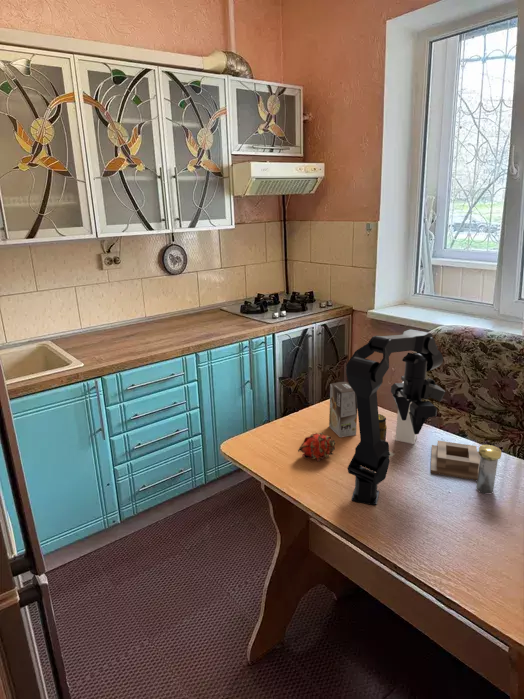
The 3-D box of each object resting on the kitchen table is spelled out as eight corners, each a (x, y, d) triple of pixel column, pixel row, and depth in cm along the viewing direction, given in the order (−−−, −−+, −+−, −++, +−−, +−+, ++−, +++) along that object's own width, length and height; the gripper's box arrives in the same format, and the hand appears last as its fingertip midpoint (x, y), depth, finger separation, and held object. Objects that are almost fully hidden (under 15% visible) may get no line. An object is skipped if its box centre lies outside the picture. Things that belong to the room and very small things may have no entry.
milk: (395, 440, 160) (399, 377, 154) (398, 433, 166) (403, 371, 159) (414, 444, 158) (419, 379, 151) (417, 436, 163) (422, 373, 157)
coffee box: (357, 435, 164) (359, 390, 160) (339, 437, 162) (341, 392, 158) (344, 423, 173) (346, 381, 168) (327, 426, 171) (329, 383, 166)
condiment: (373, 444, 158) (375, 410, 154) (395, 454, 152) (398, 419, 148) (358, 451, 153) (360, 416, 150) (380, 462, 147) (383, 425, 144)
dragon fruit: (338, 461, 151) (301, 470, 149) (328, 436, 156) (292, 445, 154) (342, 449, 144) (303, 459, 142) (332, 424, 149) (294, 433, 147)
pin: (496, 496, 130) (502, 456, 126) (474, 492, 131) (479, 452, 128) (494, 485, 135) (500, 446, 131) (473, 482, 136) (478, 443, 133)
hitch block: (483, 481, 137) (485, 468, 135) (430, 473, 141) (431, 460, 140) (479, 454, 151) (481, 443, 150) (431, 447, 155) (432, 436, 154)
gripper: (459, 386, 127) (452, 440, 132) (428, 364, 145) (423, 412, 150) (417, 387, 126) (412, 442, 131) (392, 365, 144) (388, 414, 149)
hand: (409, 426), depth 140 cm, fingers open, 9 cm apart
